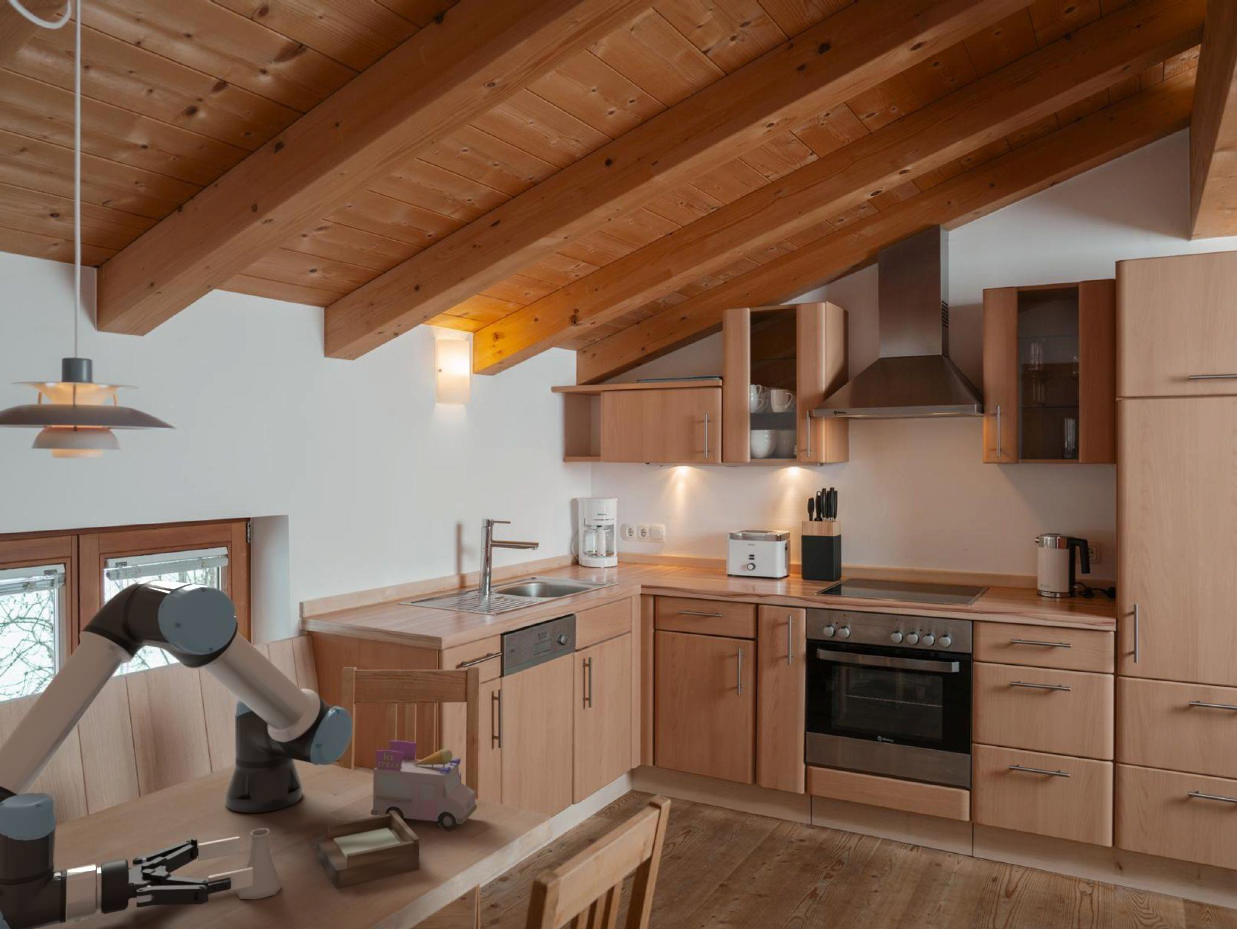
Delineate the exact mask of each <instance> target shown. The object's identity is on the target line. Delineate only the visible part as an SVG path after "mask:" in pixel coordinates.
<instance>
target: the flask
mask: <svg viewBox="0 0 1237 929" xmlns="http://www.w3.org/2000/svg"><path fill="white" fill-rule="evenodd" d="M270 834H271V830H270V828H265V827H264V828H263V827H259V828H256V829H253V830H251V831H250V832H249V837H251V845H250V850H249V855H248V858H247V862H246V864H245V867H244V869H245V868H250V867H252V868H253V886H249V887H244V888H239V889H236V892H235V893H236V894H237V896H238V898H239V899H241V900H242V899H245V900H247V899H248V900H259V899H263V898H267V897H271V896H275V895H276V894H277V893H278V892H279V891H280V889H281V888H283V885H282V882H281V879H280V877H279V874H278V872H277V869H276V867H275V864H274V861H273V859H272V858H273V857H272V855H271V852H270V846H269V836H270Z"/></svg>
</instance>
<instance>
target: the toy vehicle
mask: <svg viewBox="0 0 1237 929" xmlns="http://www.w3.org/2000/svg"><path fill="white" fill-rule="evenodd" d="M417 744H418V743H417V742H410V741H406V740H393V739H390V740H389V747H390V750H388V749H384V750H381V749H380V750H379V749H376V750H375V761H376V764H375V765H376V767H374V768H373V786H372V788H373V792H372V793H373V794H372V795H373V796H372V799H373V800H372V809H371V810H370V815H372V816H380V815H385V814H389V811H393V810H394V811H395V812H396V813H397V814H398V815H399V816H400V818H401V819H402V820H403V821H404V820H405V819H410V820H419V821H420V820H421V821H429V822H431V821H432V822H438V824H439V827H440V828H441V829H442V830H444V831H452V830H453V829H455V828H456V826H457V825H463V824H464V823H465V822H466V821H467V819H468V818H470V816H472V814H473V813H475V812H476V810H477V808H478V805H477V804H476V791H475V790H473V789H472V788H470V787H469V786H467V785H465V784H464V783H462V773H460V771H459V770H460V766H459V765H460V763H461V758H456V759H453V753H452V750H451V749H448V748H441V749H440V750H438V751H436V752H434V753H432V754H430V755H428V756H426V757H425V758H423V759H416V751H417Z"/></svg>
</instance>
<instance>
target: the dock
mask: <svg viewBox="0 0 1237 929" xmlns="http://www.w3.org/2000/svg"><path fill="white" fill-rule="evenodd" d="M420 840H421V839H420V838H419V836H418V835H417V834H416V833H415V832H414V831H413V830H412V829H411V828H410V826H409V825H408V824H407V823H406V822H405V821H404V820H402V819H401V818H400V816H399V815H398V814H397V813H396V812H395V811H394V810H393V811H389V814H385V815H374V816H370V817H365V818H360V819H354V820H350V821H344V822H339V823H334V824H329V825H327V836H321V837H316V838H315V856H316V857H317V859H318V861H319V863H320V864H321V866H322V868H323V869H324V871H325V872H326V874H327V876H328V877H329V879H330V881H331V882H332V885H333V886H334V887H335V889H338V888H342V887H343V888H344V887H349V886H353V885H356V884H360V883H366V882H370V881H374V880H379V879H383V878H388V877H392V876H396V875H400V874H405V873H409V872H414V871H419V870H420Z"/></svg>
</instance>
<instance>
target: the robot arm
mask: <svg viewBox="0 0 1237 929" xmlns="http://www.w3.org/2000/svg"><path fill="white" fill-rule="evenodd" d="M236 611H237V610H236V607H235V604H234V603H233V601H232V599H231V598H230V597H229V596H228V594H227V593H225V592H224V591H222V590H221V589H219V588H217V587H214V586H211V585H207V584H204V583H199V582H198V583H197V582H196V583H195V582H193V583H191V582H190V583H188V582H186V583H185V582H175V581H167V580H162V579H161V580H160V579H145V580H141V581H138V582H135V583H132V584H130V585H128V586H126V587H125V588H123V589H122V590H121V591H119V592H117V593H116V594H115V595H114V596H113V597H111V598H110V599H109V600H108V601H107V602H106V603H105V604H104V605H102V607H101V608H100V609H99V610H98V611H97V612H96V613H95V614H94V615H93V616H92V618H90V620H89V621H88V623H87V624H86V625H85V626H84V628H83V629H82V630H81V632H80V633H79V641H80V643H79V645H77V647H76V648H75V649H74V651H73V652H72V653H71V655H70V656H69V657H68V659H67V660H66V662H65V663H64V664H63V665H62V667H61V668H60V669H59V671H58V672H57V673H56V674H55V676H54V677H53V678H52V680H51V681H50V682H49V683H48V685H47V686H46V687H45V689H44V690H43V692H42V693H41V694H40V695H39V697H38V698H37V699H36V701H35V702H34V703H33V705H32V706H31V707H30V709H28V711H27V713H26V714H25V715H24V716H23V717H22V719H21V720H20V722H19V723H18V724H17V726H16V727H15V729H13V731H12V732H11V734H10V735H9V736H8V738H7V739H6V740H5V741H4V743H3V744H2V746H0V929H40V928H45V927H49V926H53V925H54V926H55V925H57V924H64V923H67V922H68V923H69V922H72V921H74V923H79V922H80V921H81V920H83V919H87V918H91V917H96V915H97V912H100V913H101V914H103V915H107V914H112V913H117V912H122V911H125V910H126V909H127V908H128V907H129V902H130V901H129V900H130V899H136V908H144V907H145V908H146V907H151V906H177V905H178V906H179V905H181V906H182V905H184V906H185V905H187V906H189V905H204V904H206V903H208V902H209V896H210V895H215V894H221V893H225V892H229V891H234V890H237V889H239V888H244V887H249V886H253V868H252V867H250V868H245V867H244V868H241V869H237V870H236V869H235V870H231V871H225V872H220V873H217V874H211V875H208V877H207V879H205V878H195V877H186V876H185V877H184V876H175V875H172V874H171V873H172V872H174V871H176V870H178V869H180V868H182V867H184V866H185V865H188V864H189V863H191V862H193V861H195V860H197V861H198V862H201V861H207V860H208V861H209V860H214V859H218V858H223V857H228V856H234V855H238V854H241V853H240V852H241V851H240V850H241V847H240V846H241V843H240V842H241V837H240V836H234V837H228V838H222V839H217V840H212V841H207V842H202V843H198V838H191V839H186V840H183V841H182V842H178V843H175V844H173V845H169V846H167V847H165V848H162V849H159V850H157V851H153V852H151V853H149V854H145V855H141V856H136V857H133V858H132V866H131V867H129V861H128V859H126V858H119V859H114V860H109V861H104V862H103V863H101V864H100V865H101V866H98V865H97V864H96V863H91V864H85V865H80V866H76V867H70V868H67V869H65V868H64V869H61V870H55V863H56V862H55V846H56V826H57V817H56V811H55V810H56V807H55V800H54V798H53V796H51V794H48V793H44V792H39V793H37V792H36V793H35V792H30V791H31V789H32V787H34V785H35V784H36V783H37V780H38V779H39V778H41V777H40V776H41V775H42V774H43V773H44V772H45V770H46V769H47V767H48V766H49V764H50V763H51V762H52V760H53V759H54V757H56V754H57V753H59V751H60V749H61V748H62V746H63V745H64V744H65V742H66V740H68V739H69V737H70V735H71V734H72V733H73V731H74V730H75V729H76V728H77V726H78V724H79V723H80V722H81V720H82V719H83V717H84V716H85V715H86V713H87V712H88V711H89V709H90V708H91V707H92V705H93V704H94V702H95V701H96V699H97V698H98V697H99V696H100V694H101V693H102V692H103V690H104V689H105V687H106V686H107V685H108V683H109V681H110V680H111V679H112V677H113V676H114V675H115V673H116V672H117V670H118V669H119V668H120V666H122V665H123V664H126V663H130V662H132V660H133V658H134V657H135V656H136V655H137V653H138V652H139V651H140V650H141V649H143V648H144V647H153V648H158V649H159V648H160V649H162V650H164V651H166V652H167V653H168V654H170V655H171V656H172V657H173V658H175V659H176V660H177V661H178V662H179V663H181V664H182V665H183V666H184V667H186V668H189V669H192V670H195V669H201V668H202V669H203V671H205V672H206V673H207V674H209V676H210V677H212V678H213V679H214V680H216V682H218V683H219V684H220V685H222V687H224V688H225V689H226V690H227V691H229V692H230V693H231V694H232V695H233V696H234V697H235V698H237V699H238V701H237V702H236V709H235V710H236V711H235V714H234V717H235V719H234V721H235V726H234V729H235V735H234V736H235V741H234V742H235V753H234V754H235V760H234V761H235V764H234V769H233V773H232V775H231V778H230V780H229V784H228V786H227V790H226V793H225V806H226V808H228V809H229V810H232V811H234V812H238V813H244V814H245V813H247V814H248V813H249V814H258V813H269V812H274V811H278V810H282V809H285V808H288V807H291V806H293V805H295V804H296V803H297V802H299V801H300V800H301V799H302V797H303V794H302V793H303V786H302V782H301V779H300V778H301V777H300V775H299V773H298V770H297V767H296V763H295V760H296V761H299V762H300V761H301V762H305V763H310V764H313V765H315V766H319V765H321V766H330V765H332V764H333V763H336V762H337V761H339V759H340V758H342V756H343V755H344V753H345V752H346V751H347V748H348V747H349V744H350V742H351V739H352V735H353V726H354V725H353V718H352V715H351V713H350V712H349V710H347V709H346V708H344V707H341V706H339V705H335V706H333V705H332V704H329V703H328V702H326V701H325V699H323V698H322V697H321V696H320V695H319V694H318V693H316V692H315V691H314V690H313V689H309V688H301V689H300V688H299V687H298V686H297V685H296V684H295V683H294V682H293V681H292V680H290V678H288V676H286V674H285V673H283V672H282V671H281V670H280V669H279V668H278V667H277V666H276V665H274V664H273V662H271V661H270V660H269V659H268V658H267V657H266V656H265V655H264V654H262V652H260V651H259V650H258V649H257V648H256V647H255V646H254V645H253V644H252V643H250V641H249V640H247V639H246V637H245V636H243V635H242V634H241V633H240V632H239V629H240V625H239V624H240V623H239V620H238V617H237V616H235V613H236Z"/></svg>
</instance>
